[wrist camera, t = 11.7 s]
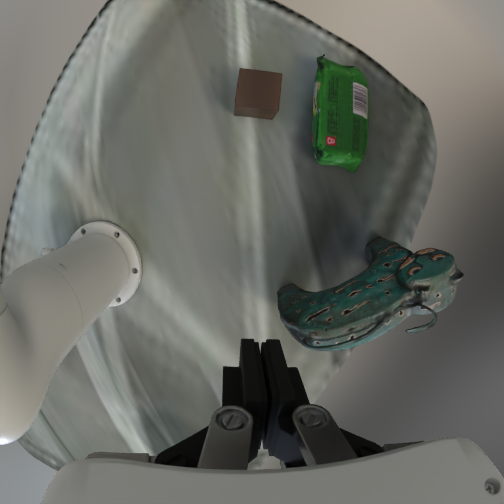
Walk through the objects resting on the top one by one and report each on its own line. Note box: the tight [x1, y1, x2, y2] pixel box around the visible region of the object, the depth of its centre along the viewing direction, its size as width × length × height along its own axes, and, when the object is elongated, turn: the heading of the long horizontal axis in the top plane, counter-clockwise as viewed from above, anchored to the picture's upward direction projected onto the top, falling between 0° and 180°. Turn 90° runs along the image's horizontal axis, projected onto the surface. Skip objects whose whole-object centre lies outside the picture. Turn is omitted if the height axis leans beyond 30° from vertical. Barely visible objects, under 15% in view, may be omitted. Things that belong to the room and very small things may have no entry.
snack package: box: [312, 55, 369, 173], centre depth 32 cm, size 7×16×5 cm, turn 176°
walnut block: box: [234, 68, 282, 120], centre depth 31 cm, size 5×5×5 cm
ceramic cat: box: [277, 237, 464, 351], centre depth 30 cm, size 20×6×20 cm, turn 115°
